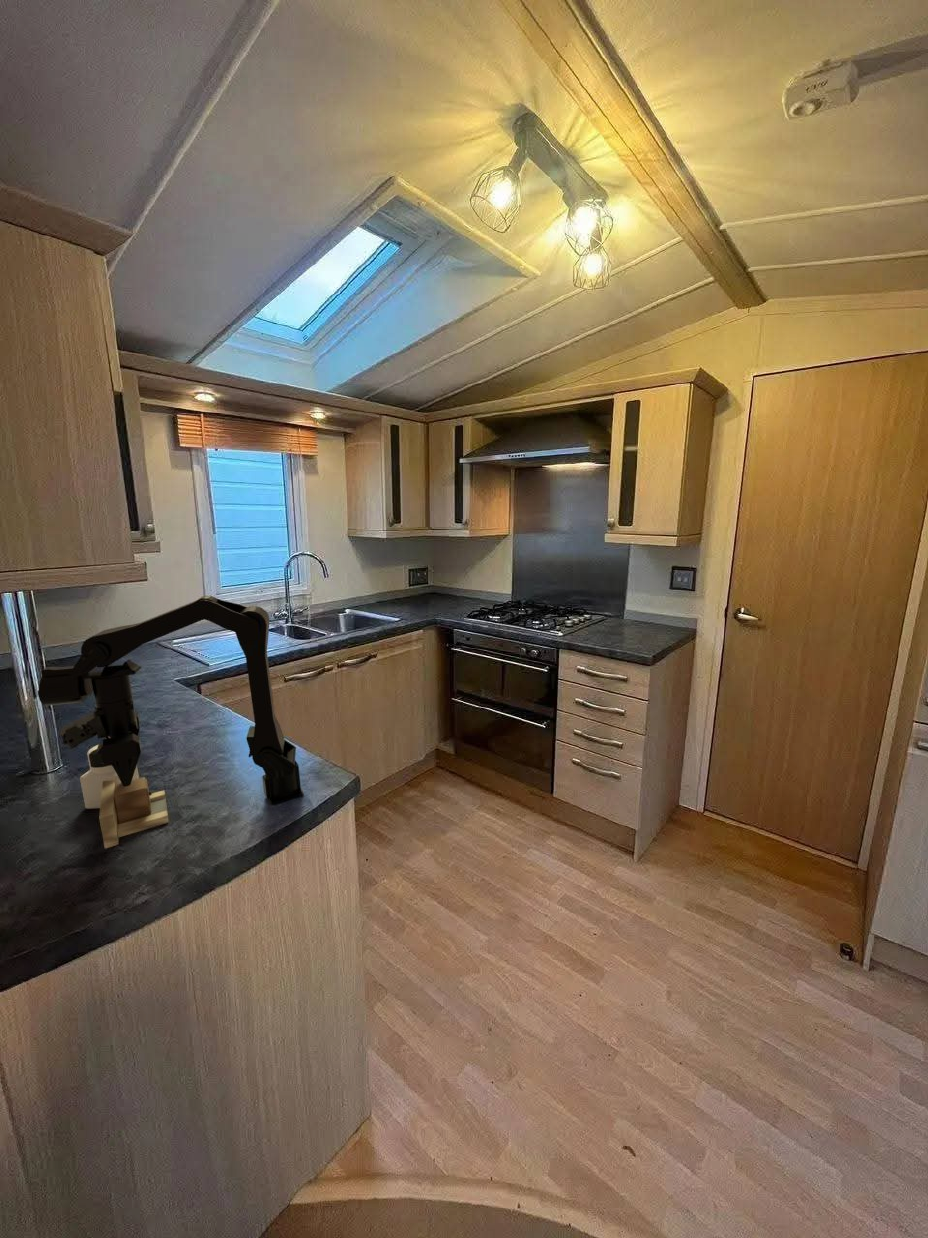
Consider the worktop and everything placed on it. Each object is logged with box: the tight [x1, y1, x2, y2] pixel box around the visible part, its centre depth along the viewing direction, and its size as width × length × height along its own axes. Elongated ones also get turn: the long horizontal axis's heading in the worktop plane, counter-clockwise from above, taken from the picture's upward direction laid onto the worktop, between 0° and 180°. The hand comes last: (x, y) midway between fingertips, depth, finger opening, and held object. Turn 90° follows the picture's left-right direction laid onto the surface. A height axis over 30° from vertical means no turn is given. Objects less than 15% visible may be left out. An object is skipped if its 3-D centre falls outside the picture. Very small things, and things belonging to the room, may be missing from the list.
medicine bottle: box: [79, 744, 140, 810], centre depth 104 cm, size 7×7×12 cm
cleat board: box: [98, 781, 169, 850], centre depth 98 cm, size 10×16×6 cm, turn 33°
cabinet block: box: [114, 776, 152, 824], centre depth 98 cm, size 6×5×6 cm
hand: (127, 775), depth 96 cm, fingers open, 9 cm apart
